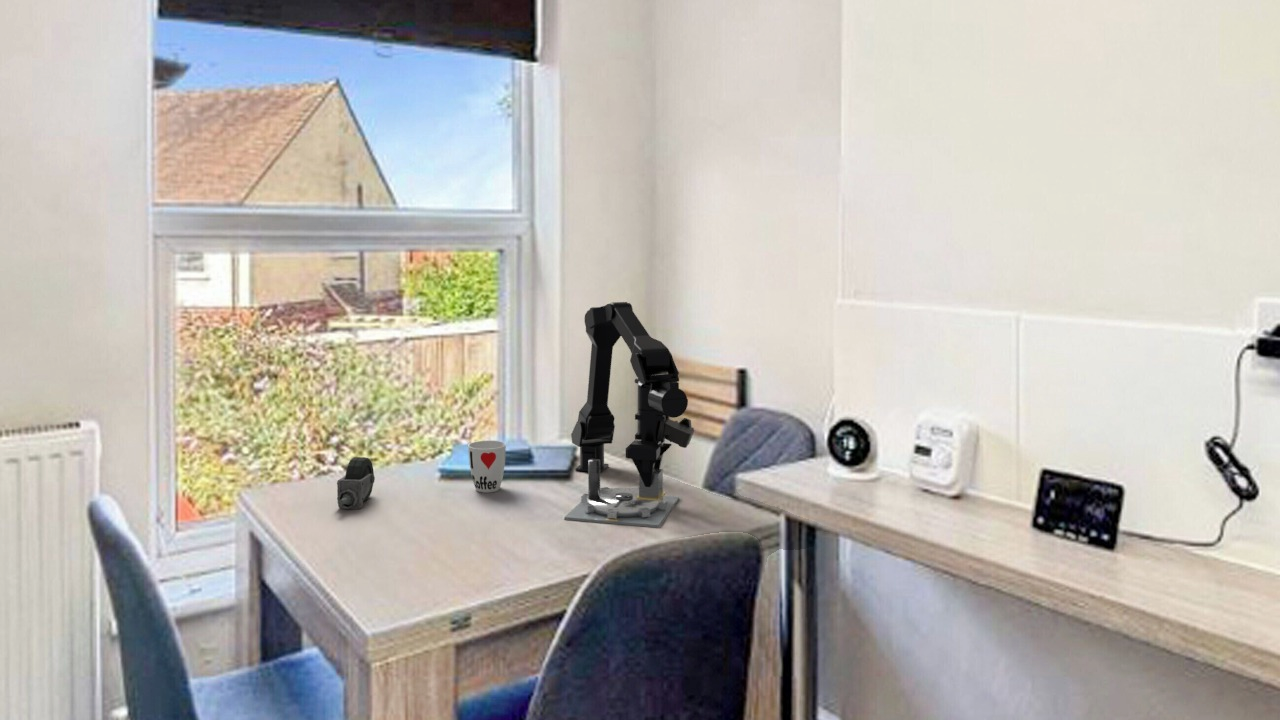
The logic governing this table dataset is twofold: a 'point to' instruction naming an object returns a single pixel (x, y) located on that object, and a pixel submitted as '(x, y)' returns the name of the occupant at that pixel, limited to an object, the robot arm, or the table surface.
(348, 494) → the caster wheel
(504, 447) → the cup
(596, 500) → the sprocket
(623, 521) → the base plate
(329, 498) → the table surface
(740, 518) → the table surface
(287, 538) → the table surface
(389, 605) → the table surface
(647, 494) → the link block
